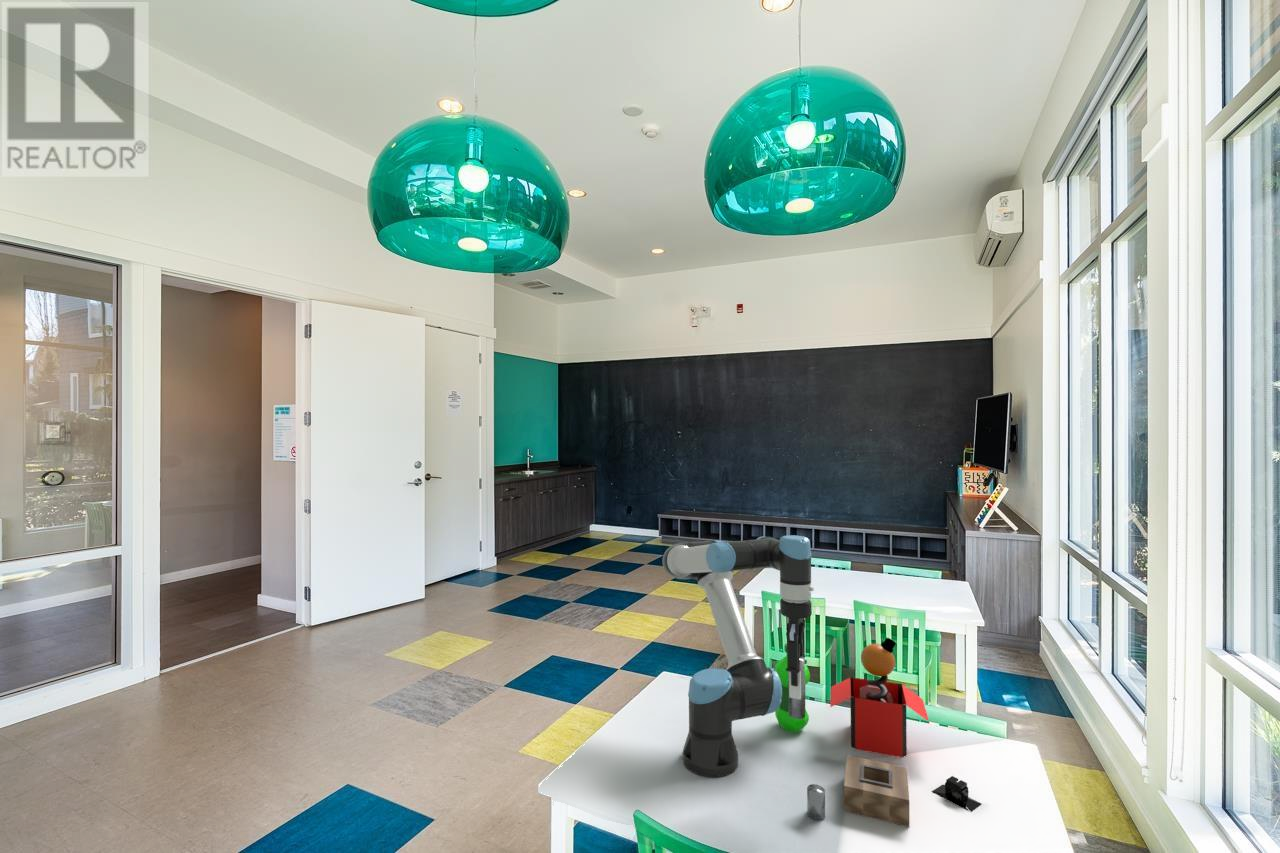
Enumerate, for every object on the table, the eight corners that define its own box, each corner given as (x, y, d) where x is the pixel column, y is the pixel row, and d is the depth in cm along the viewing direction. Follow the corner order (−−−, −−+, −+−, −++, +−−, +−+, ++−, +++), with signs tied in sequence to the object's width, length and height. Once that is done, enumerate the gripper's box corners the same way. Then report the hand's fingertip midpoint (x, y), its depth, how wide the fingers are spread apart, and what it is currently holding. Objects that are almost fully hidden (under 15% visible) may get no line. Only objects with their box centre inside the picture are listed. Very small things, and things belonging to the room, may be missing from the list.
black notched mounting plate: (990, 808, 138) (990, 789, 139) (975, 819, 134) (974, 799, 135) (939, 782, 149) (939, 764, 149) (923, 792, 145) (923, 773, 145)
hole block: (844, 811, 136) (844, 784, 137) (847, 778, 149) (847, 753, 149) (909, 826, 131) (909, 798, 131) (906, 791, 144) (906, 766, 144)
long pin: (787, 717, 142) (786, 659, 142) (790, 710, 146) (789, 654, 146) (803, 720, 140) (803, 662, 141) (806, 713, 144) (805, 656, 144)
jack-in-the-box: (922, 734, 172) (921, 633, 172) (929, 762, 157) (928, 651, 158) (831, 719, 180) (831, 623, 181) (830, 745, 166) (830, 640, 166)
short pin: (806, 818, 134) (806, 792, 134) (808, 807, 138) (808, 782, 138) (824, 822, 132) (824, 796, 133) (825, 812, 136) (825, 786, 136)
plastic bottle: (793, 740, 168) (793, 654, 169) (767, 725, 177) (767, 643, 177) (816, 730, 174) (816, 647, 174) (790, 716, 182) (789, 637, 183)
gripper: (806, 609, 134) (807, 711, 134) (815, 592, 150) (817, 683, 149) (773, 606, 138) (774, 705, 137) (786, 589, 153) (787, 678, 152)
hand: (796, 693), depth 143 cm, fingers closed on long pin, 4 cm apart
